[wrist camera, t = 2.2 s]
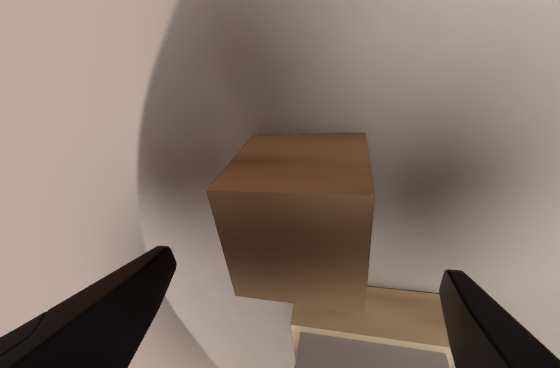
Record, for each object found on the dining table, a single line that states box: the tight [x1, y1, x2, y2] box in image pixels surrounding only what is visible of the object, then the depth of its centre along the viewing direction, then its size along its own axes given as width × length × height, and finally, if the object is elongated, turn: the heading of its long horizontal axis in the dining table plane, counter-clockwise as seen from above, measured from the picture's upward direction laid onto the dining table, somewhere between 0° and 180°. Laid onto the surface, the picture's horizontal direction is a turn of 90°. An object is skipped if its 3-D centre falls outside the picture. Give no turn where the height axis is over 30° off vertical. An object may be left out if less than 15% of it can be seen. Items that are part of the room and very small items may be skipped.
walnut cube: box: [206, 133, 375, 312], centre depth 11 cm, size 5×5×5 cm
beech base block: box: [290, 287, 454, 368], centre depth 17 cm, size 8×8×3 cm
